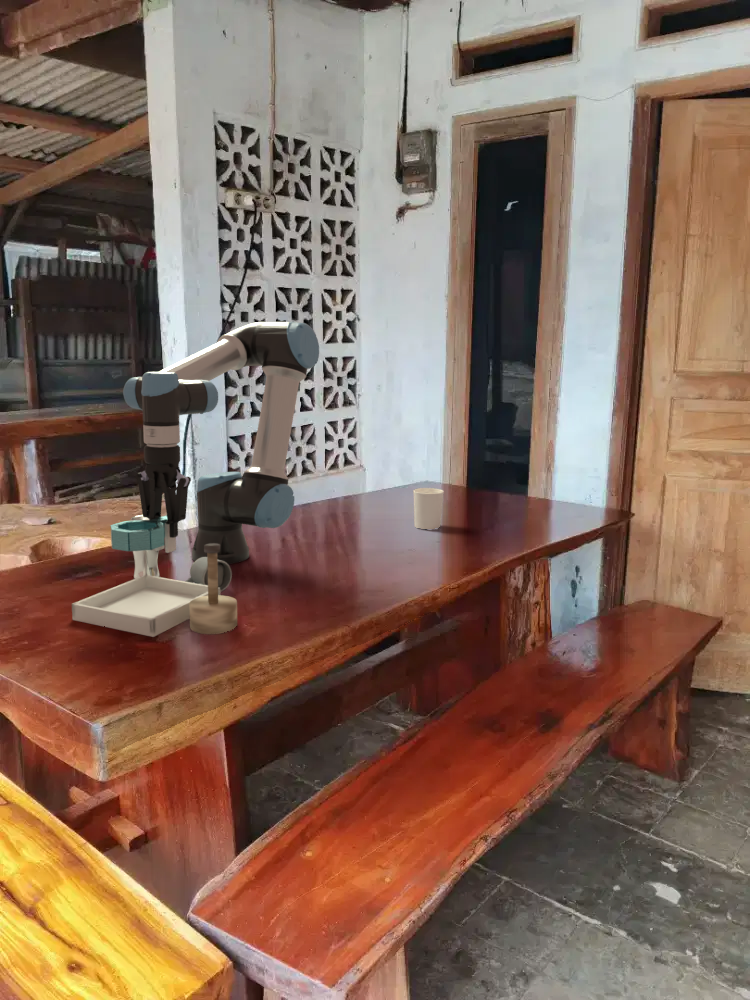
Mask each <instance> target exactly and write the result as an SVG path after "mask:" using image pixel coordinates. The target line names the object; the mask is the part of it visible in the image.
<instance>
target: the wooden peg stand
mask: <svg viewBox="0 0 750 1000" xmlns="http://www.w3.org/2000/svg"><path fill="white" fill-rule="evenodd" d="M204 552H205V553H207V564H208V596H203V597H199V598H196V599H194V600H192V601H191V602H190V604H189V607H190V618H189V627H190V630H191V631H193V632H194V633H197V634H202V635H220V634H225V633H228V632H227V631H229V632H231V631H233V630H235V629H236V628H237V627H238V600H237V599H236V598H234V597H233V596H228V595H223V594H222V595H221V594H220V595H218V563H217V553H218V552H220V544H215V543H211V544H206V545H204ZM236 626H237V627H236ZM235 627H236V628H235ZM234 628H235V629H234ZM232 629H233V630H232ZM230 630H231V631H230ZM224 632H225V633H224Z"/></svg>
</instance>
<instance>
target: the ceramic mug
mask: <svg viewBox="0 0 750 1000" xmlns="http://www.w3.org/2000/svg"><path fill="white" fill-rule="evenodd" d="M217 563H218V587H219V588H220V593H222V592H223V591H225V590H226V589H227V588H228V587H229V585H230V584H231V582H232V577H233V576H232V575H233V572H232V568H231V566H230V564H227V563H226V562H224V561H222V560H218V559H217ZM189 575H190V577H189V578H188V579H186V580H185V582H190V583H196V584H202V585H208V564H207V557H202V558H199V559H197V560H196V561H194V562H193V563H192V565H191V567H190V571H189Z"/></svg>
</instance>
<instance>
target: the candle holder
mask: <svg viewBox="0 0 750 1000" xmlns="http://www.w3.org/2000/svg"><path fill="white" fill-rule="evenodd" d="M412 492H413V520H414V528H415V527H416V528H415V529H417V528H421V529H435V528H439V527H440V528H441V523H442V514H443V504H444V494H445V490H443V489H440V488H435V487H434V488H433V487H419V488H415V489H413V491H412ZM440 528H439V529H440ZM421 529H420V530H421Z"/></svg>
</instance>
